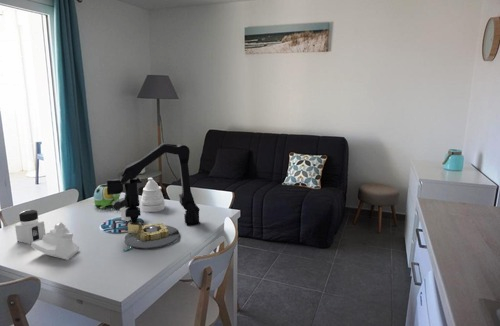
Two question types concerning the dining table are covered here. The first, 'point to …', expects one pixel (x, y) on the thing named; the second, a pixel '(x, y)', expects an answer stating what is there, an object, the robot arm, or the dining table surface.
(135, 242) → the grey round shallow disc
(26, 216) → the container
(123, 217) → the white cup
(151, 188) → the honey pot
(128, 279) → the dining table surface
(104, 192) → the turtle holder
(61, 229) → the white stepped peaked piece
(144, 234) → the gold block ring
